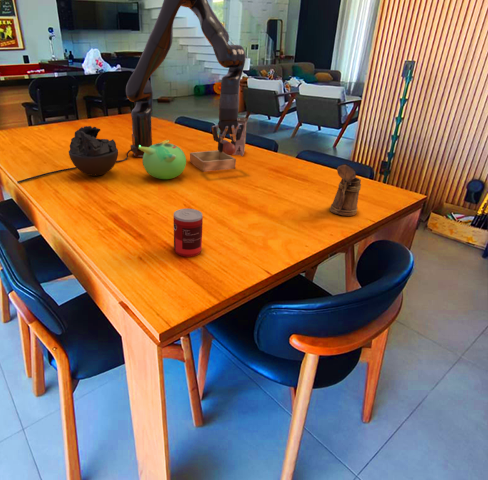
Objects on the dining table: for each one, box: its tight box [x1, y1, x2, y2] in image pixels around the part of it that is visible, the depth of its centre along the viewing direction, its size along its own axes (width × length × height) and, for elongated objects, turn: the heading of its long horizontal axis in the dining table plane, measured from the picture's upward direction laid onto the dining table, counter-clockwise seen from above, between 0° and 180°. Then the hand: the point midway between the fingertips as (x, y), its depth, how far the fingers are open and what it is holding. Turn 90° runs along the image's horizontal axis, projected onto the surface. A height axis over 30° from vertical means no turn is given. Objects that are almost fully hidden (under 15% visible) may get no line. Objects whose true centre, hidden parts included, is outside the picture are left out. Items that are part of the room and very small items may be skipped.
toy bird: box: [138, 139, 187, 180], centre depth 156 cm, size 18×17×15 cm
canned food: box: [173, 208, 204, 258], centre depth 105 cm, size 8×8×11 cm
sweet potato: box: [222, 139, 236, 156], centre depth 158 cm, size 11×5×5 cm, turn 20°
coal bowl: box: [68, 125, 119, 177], centre depth 158 cm, size 20×20×19 cm
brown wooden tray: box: [189, 149, 237, 173], centre depth 174 cm, size 16×17×5 cm
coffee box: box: [232, 117, 248, 157], centre depth 189 cm, size 9×6×16 cm
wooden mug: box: [329, 163, 362, 217], centre depth 126 cm, size 9×14×18 cm, turn 139°
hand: (226, 151), depth 159 cm, fingers closed on sweet potato, 4 cm apart
